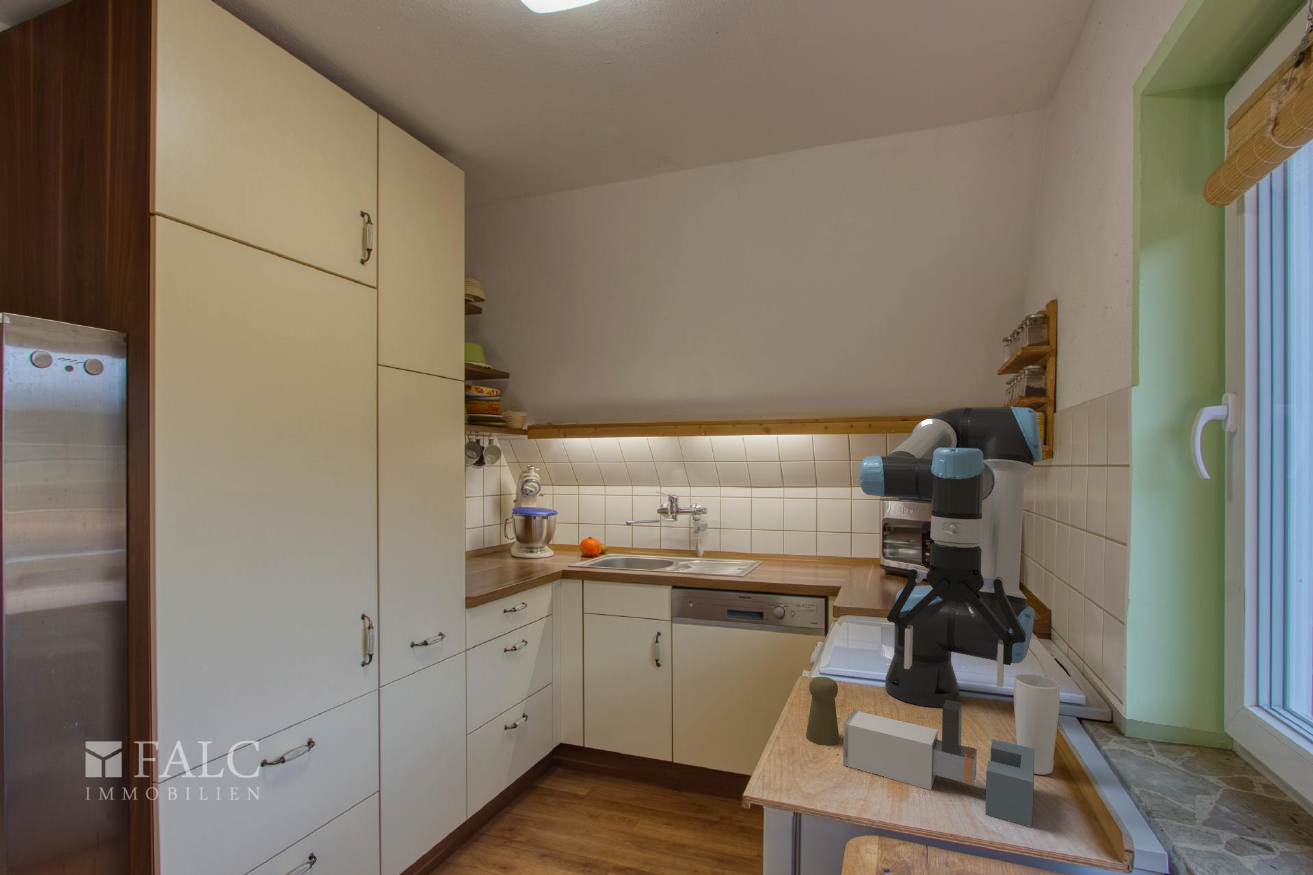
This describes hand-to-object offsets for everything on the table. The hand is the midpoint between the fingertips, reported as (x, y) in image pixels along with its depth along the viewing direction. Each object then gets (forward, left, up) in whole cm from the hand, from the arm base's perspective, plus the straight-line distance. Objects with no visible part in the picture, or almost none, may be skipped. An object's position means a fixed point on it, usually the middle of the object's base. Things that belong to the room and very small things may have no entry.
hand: (952, 675), depth 105 cm
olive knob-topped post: (-5, -22, -18) cm, 29 cm away
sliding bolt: (0, -5, -16) cm, 17 cm away
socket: (0, +8, -18) cm, 19 cm away
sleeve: (0, -9, -18) cm, 20 cm away
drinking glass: (-14, +12, -18) cm, 26 cm away
